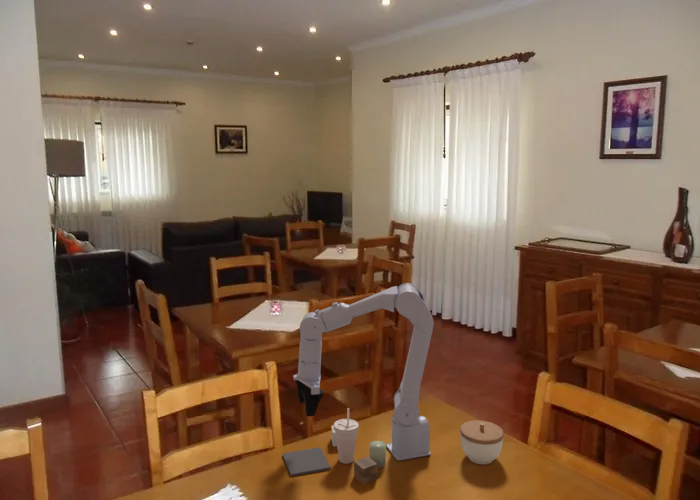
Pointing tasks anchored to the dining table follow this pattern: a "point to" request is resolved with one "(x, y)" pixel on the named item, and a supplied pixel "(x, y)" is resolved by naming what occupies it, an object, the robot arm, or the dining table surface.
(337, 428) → the smoothie
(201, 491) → the dining table surface
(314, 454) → the mat
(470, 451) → the lidded jar
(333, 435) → the grey block
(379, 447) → the sage tin
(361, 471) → the walnut block
